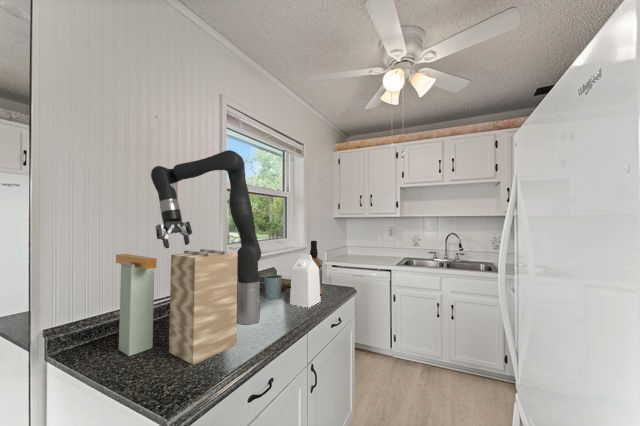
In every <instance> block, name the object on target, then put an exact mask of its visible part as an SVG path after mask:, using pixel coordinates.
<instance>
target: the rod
mask: <svg viewBox="0 0 640 426" xmlns="http://www.w3.org/2000/svg"><path fill="white" fill-rule="evenodd" d="M157 261H158V258H156V257H149V256H143V255H135V254H130V253H120V254H116V255H115V264H120V265H121V263H129V264H134V265H135V267H139V268H144V269H150V268H154V269H156V268H157Z"/></svg>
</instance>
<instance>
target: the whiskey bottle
mask: <svg viewBox="0 0 640 426" xmlns="http://www.w3.org/2000/svg"><path fill="white" fill-rule="evenodd" d="M318 254H319V253H318V241H317V240H311V241H310V250H309V255H311V257H312V260H313V261H314V262H315V263H316V265H317V266H318V268H319V278H320V294H321V293H322V291H323V292H324V286H323V264H324V263H323V262H324V261H323V260H322V259H321V258H319V257H318ZM322 294H323V293H322Z"/></svg>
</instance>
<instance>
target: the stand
mask: <svg viewBox="0 0 640 426" xmlns="http://www.w3.org/2000/svg"><path fill="white" fill-rule="evenodd" d="M199 250H200V251H196V250H183V251H184V253H177V254H176V253H175V254H171V255H170V288H169V291H170V293H169V327H168V328H169V331H168V332H169V334H168V335H169V337H168V338H169V339H168V340H169V341H168V353H169V354H172V356H175V357H177V358H179V359H181V360H182V361H185V362H186V363H188V364H190V365H196V364H198V363H200V362H203V361H205V360H207V359H209V358H211V357H214V356H215V355H218V354H220V353H222V352H225V351H226V350H229V349H231V348H233V347H235V346H237V342H238V341H237V331H238V330H237V329H238V327H237V326H238V325H237V324H238V322H237V320H238V318H237V316H238V277H237V258H238V253H237V252H232V251H231V252H229V251H227V250H226V251H225V250H215V249H206V248H201V249H199Z"/></svg>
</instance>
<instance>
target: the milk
mask: <svg viewBox="0 0 640 426" xmlns="http://www.w3.org/2000/svg"><path fill="white" fill-rule="evenodd" d="M290 282H291V288H290V295H289V305H290V304H292V305H291V306H294V305H297V306H296V307H299V306H302V307H301V308H304V307H308V308H307V309H310V308H312V307H311V306H313V305H315V304H317V303H319V302H321V303H322V301H321V300H322V299H321V296H320V278H319V268H318V266H317V265H316V263H315V262H314V261H313V260H312V257H311V255H310V253H301V254H299V257H298V259H297V260H296V262H295V264H294V265H293V267H292V269H291V278H290ZM319 304H320V303H319ZM317 305H318V304H317ZM315 306H316V305H315ZM309 307H310V308H309ZM313 307H314V306H313Z"/></svg>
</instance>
